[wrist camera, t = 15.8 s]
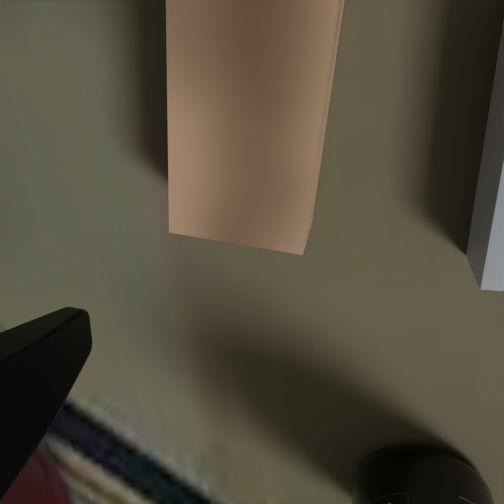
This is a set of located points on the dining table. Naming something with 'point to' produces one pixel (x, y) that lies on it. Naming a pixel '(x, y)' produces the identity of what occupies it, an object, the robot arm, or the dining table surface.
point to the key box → (248, 116)
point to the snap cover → (490, 194)
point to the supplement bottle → (418, 479)
